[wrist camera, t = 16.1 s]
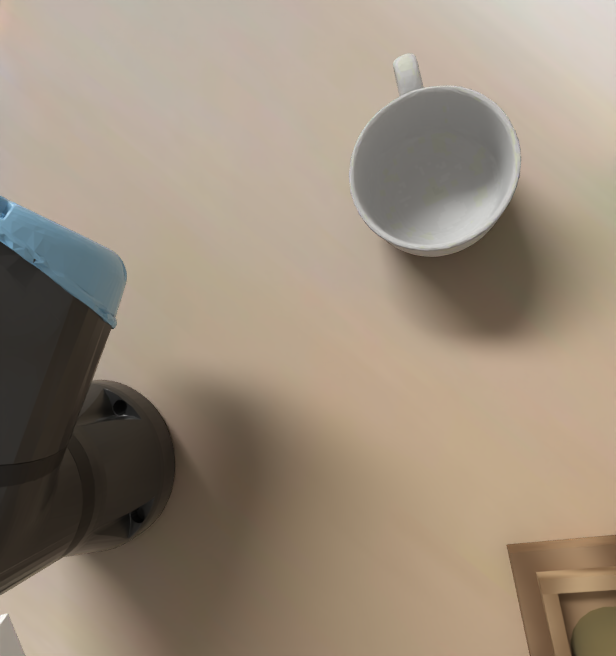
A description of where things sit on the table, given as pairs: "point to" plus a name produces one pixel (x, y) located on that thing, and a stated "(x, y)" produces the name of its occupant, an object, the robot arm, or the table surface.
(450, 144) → the teacup
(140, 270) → the table surface
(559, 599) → the wooden square frame
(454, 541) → the table surface
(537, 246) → the table surface
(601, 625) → the olive pawn
